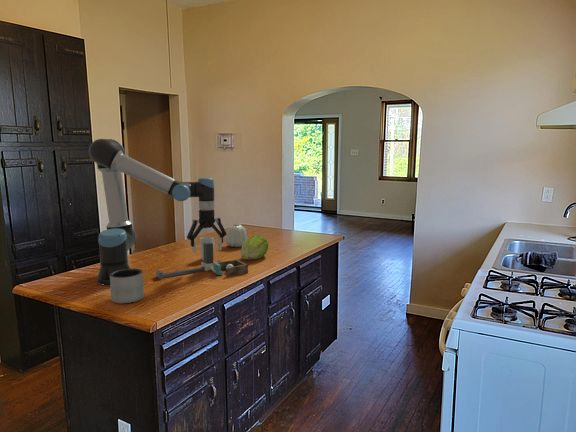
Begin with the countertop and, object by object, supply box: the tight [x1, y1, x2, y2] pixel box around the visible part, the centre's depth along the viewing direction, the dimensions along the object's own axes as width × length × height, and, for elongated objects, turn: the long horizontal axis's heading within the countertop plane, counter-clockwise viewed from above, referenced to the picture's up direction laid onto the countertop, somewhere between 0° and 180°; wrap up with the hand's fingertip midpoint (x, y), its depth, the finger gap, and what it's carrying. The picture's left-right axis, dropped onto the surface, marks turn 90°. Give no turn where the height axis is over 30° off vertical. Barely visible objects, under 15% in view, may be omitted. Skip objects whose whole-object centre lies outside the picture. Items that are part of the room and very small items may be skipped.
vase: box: [224, 224, 249, 248], centre depth 260 cm, size 14×14×13 cm
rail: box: [155, 260, 223, 280], centre depth 205 cm, size 33×5×3 cm, turn 124°
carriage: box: [200, 242, 224, 276], centre depth 205 cm, size 6×15×13 cm, turn 34°
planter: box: [110, 268, 145, 304], centre depth 168 cm, size 13×13×11 cm
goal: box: [218, 259, 249, 278], centre depth 206 cm, size 11×12×4 cm
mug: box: [199, 236, 216, 261], centre depth 231 cm, size 10×7×12 cm, turn 145°
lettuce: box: [240, 234, 269, 261], centre depth 230 cm, size 13×22×14 cm
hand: (207, 251), depth 209 cm, fingers open, 13 cm apart
